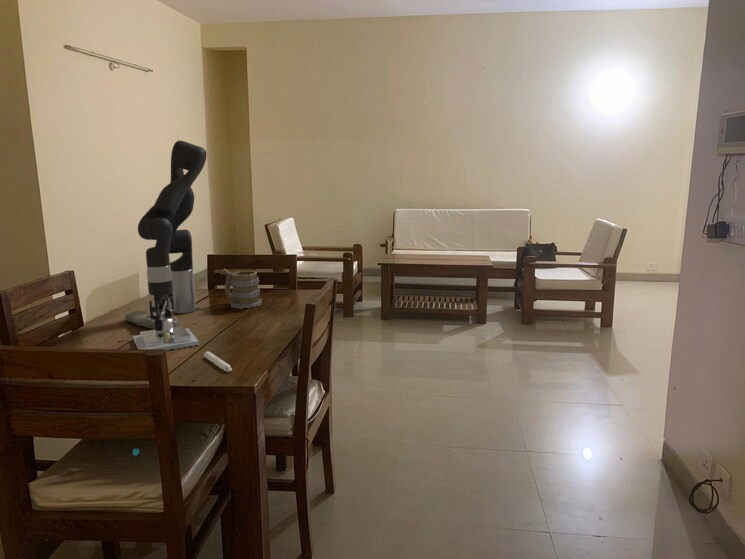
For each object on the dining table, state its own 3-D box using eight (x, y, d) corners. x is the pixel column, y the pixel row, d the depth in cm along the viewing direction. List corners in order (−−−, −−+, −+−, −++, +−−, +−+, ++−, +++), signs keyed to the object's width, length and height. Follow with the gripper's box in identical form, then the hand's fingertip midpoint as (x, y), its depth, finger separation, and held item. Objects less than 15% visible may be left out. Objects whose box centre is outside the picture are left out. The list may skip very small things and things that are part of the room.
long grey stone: (143, 319, 220) (118, 325, 213) (141, 306, 219) (116, 312, 212) (187, 326, 196) (160, 333, 189) (185, 311, 195) (158, 318, 188)
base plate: (133, 340, 188) (132, 327, 187) (188, 332, 196) (187, 319, 196) (140, 354, 172) (138, 341, 172) (199, 345, 181) (198, 332, 180)
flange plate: (140, 336, 187) (138, 317, 186) (183, 330, 194) (181, 311, 192) (145, 347, 175) (143, 327, 174) (191, 340, 181) (189, 320, 180)
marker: (234, 373, 156) (234, 365, 156) (227, 375, 155) (226, 367, 154) (210, 357, 170) (210, 349, 170) (204, 358, 169) (203, 351, 169)
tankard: (267, 303, 237) (265, 269, 234) (246, 310, 227) (244, 274, 224) (234, 298, 248) (232, 265, 245) (212, 304, 237) (210, 270, 234)
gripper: (162, 283, 173) (167, 333, 176) (179, 275, 187) (183, 321, 190) (139, 283, 173) (144, 333, 176) (157, 275, 187) (161, 321, 190)
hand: (164, 327), depth 183 cm, fingers open, 8 cm apart
